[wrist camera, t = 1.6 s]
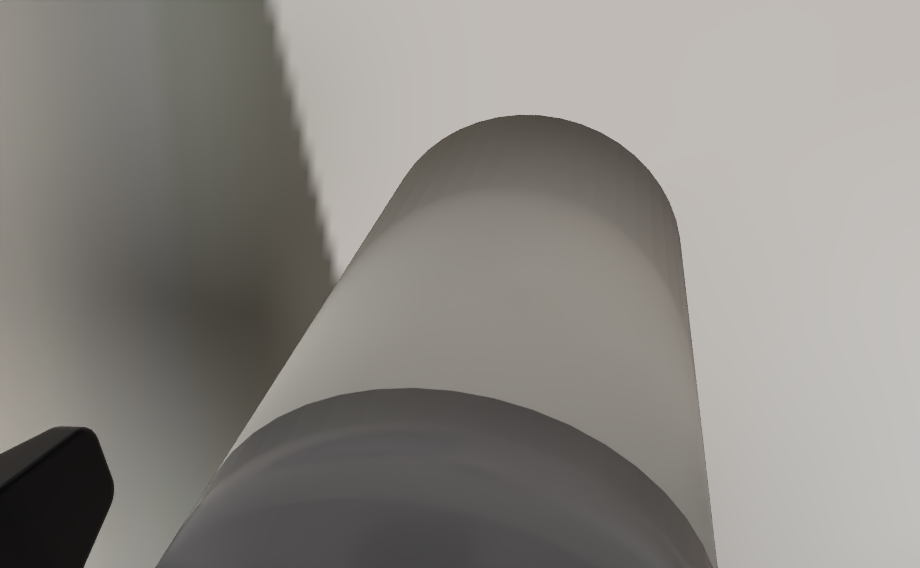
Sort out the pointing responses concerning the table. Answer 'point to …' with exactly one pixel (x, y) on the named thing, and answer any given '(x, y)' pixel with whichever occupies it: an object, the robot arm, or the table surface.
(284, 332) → the table surface
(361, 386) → the cylinder
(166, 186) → the table surface
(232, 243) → the table surface
